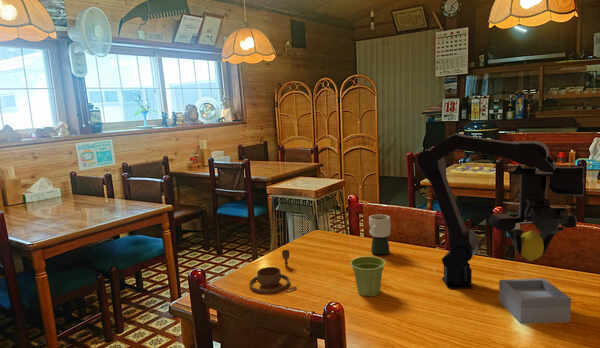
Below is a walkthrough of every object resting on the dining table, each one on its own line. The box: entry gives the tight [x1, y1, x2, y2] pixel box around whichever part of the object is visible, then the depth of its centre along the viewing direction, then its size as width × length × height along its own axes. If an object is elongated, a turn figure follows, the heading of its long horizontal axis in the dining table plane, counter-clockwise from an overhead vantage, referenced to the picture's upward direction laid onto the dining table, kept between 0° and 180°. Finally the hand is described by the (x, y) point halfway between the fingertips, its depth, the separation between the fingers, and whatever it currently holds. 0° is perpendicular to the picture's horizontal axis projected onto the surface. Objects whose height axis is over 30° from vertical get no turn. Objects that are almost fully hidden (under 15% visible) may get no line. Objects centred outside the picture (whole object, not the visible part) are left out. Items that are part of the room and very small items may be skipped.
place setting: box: [248, 249, 297, 295], centre depth 124 cm, size 18×20×6 cm
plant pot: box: [350, 255, 386, 297], centre depth 112 cm, size 9×9×9 cm
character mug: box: [368, 214, 391, 255], centre depth 141 cm, size 11×7×13 cm, turn 148°
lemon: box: [520, 230, 544, 262], centre depth 102 cm, size 6×6×8 cm
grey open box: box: [498, 277, 572, 325], centre depth 98 cm, size 11×11×6 cm
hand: (530, 253), depth 102 cm, fingers closed on lemon, 5 cm apart
